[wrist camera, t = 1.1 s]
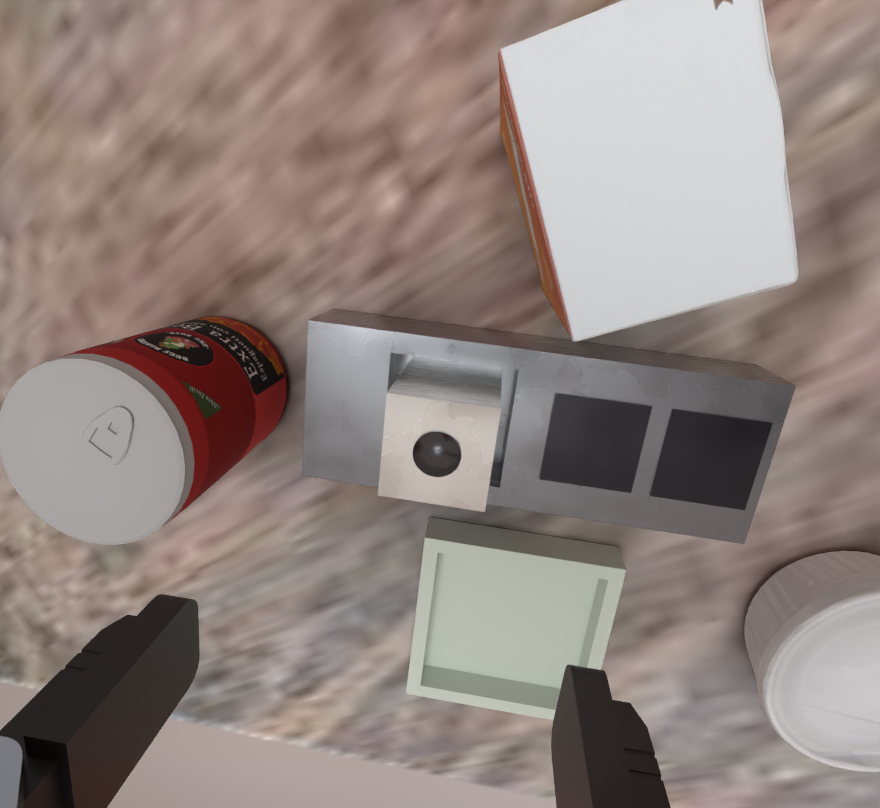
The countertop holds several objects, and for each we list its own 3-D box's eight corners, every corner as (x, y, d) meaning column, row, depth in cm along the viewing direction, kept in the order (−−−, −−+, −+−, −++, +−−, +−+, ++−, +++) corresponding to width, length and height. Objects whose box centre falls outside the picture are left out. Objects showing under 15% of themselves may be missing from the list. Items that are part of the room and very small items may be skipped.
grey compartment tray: (756, 364, 28) (796, 386, 24) (713, 504, 30) (744, 545, 26) (333, 308, 29) (307, 320, 25) (326, 446, 32) (301, 476, 28)
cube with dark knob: (501, 367, 28) (501, 409, 22) (489, 449, 30) (484, 513, 23) (413, 355, 29) (386, 393, 22) (405, 437, 30) (377, 496, 23)
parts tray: (618, 546, 32) (626, 570, 30) (581, 695, 35) (586, 726, 33) (430, 517, 32) (424, 537, 30) (411, 665, 36) (406, 693, 34)
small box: (497, 131, 26) (492, 40, 14) (633, 81, 25) (763, -68, 12) (541, 297, 28) (571, 348, 16) (669, 258, 27) (810, 281, 14)
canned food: (311, 348, 30) (209, 410, 20) (266, 467, 33) (156, 577, 22) (182, 289, 30) (12, 320, 20) (148, 414, 33) (-20, 500, 22)
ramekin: (745, 709, 34) (787, 791, 29) (705, 559, 31) (743, 621, 26) (946, 673, 32) (1029, 755, 27) (921, 508, 29) (1008, 565, 24)
